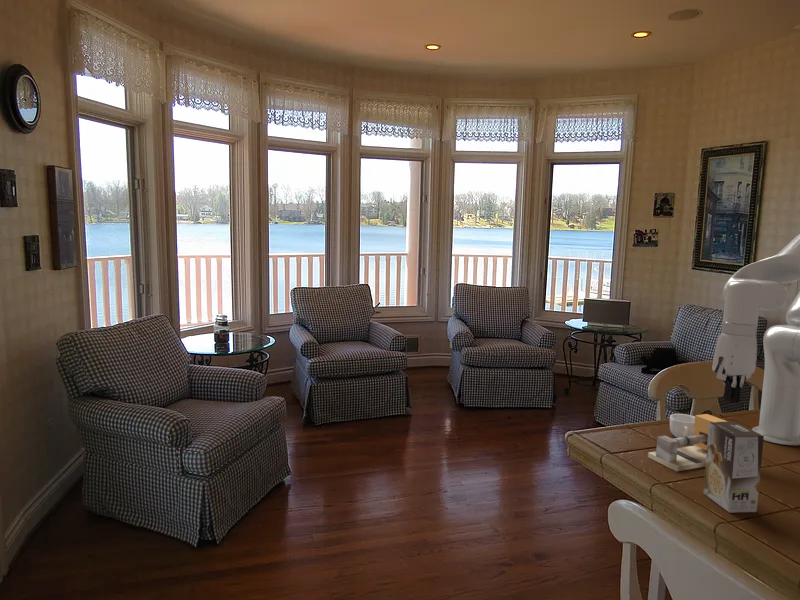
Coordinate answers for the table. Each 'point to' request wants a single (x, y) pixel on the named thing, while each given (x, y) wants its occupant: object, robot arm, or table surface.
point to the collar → (704, 426)
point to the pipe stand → (680, 452)
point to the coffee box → (733, 466)
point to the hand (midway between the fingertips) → (731, 401)
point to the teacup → (682, 425)
